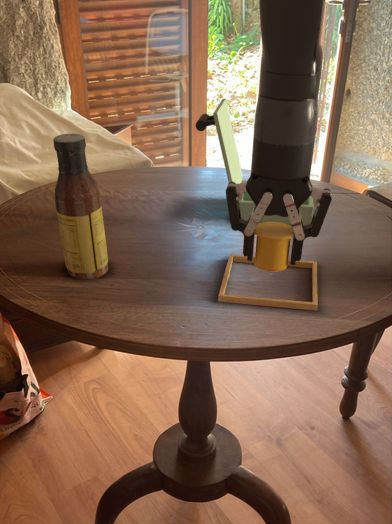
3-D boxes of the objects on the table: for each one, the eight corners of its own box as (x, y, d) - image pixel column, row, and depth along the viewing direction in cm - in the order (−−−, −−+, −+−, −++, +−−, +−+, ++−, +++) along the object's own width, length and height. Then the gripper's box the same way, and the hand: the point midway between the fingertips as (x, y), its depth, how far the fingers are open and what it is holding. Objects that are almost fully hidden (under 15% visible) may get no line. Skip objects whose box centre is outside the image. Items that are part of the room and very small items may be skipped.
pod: (291, 257, 81) (295, 223, 79) (290, 275, 77) (295, 239, 74) (252, 254, 82) (255, 220, 79) (249, 271, 78) (252, 235, 75)
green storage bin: (310, 207, 109) (313, 185, 106) (310, 230, 99) (313, 207, 97) (239, 202, 110) (241, 180, 108) (232, 224, 101) (234, 201, 99)
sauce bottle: (98, 261, 88) (86, 127, 77) (116, 277, 84) (105, 138, 73) (58, 271, 85) (39, 133, 74) (74, 288, 81) (57, 145, 70)
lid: (226, 98, 100) (200, 104, 102) (217, 112, 91) (189, 119, 92) (242, 177, 108) (219, 182, 109) (236, 198, 98) (210, 203, 100)
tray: (315, 271, 86) (316, 261, 86) (315, 315, 76) (317, 304, 75) (229, 263, 88) (229, 254, 87) (217, 305, 77) (218, 295, 76)
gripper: (222, 138, 67) (216, 268, 77) (345, 146, 66) (324, 277, 75) (229, 124, 74) (223, 245, 83) (342, 130, 72) (323, 253, 81)
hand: (271, 260), depth 79 cm, fingers closed on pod, 5 cm apart
